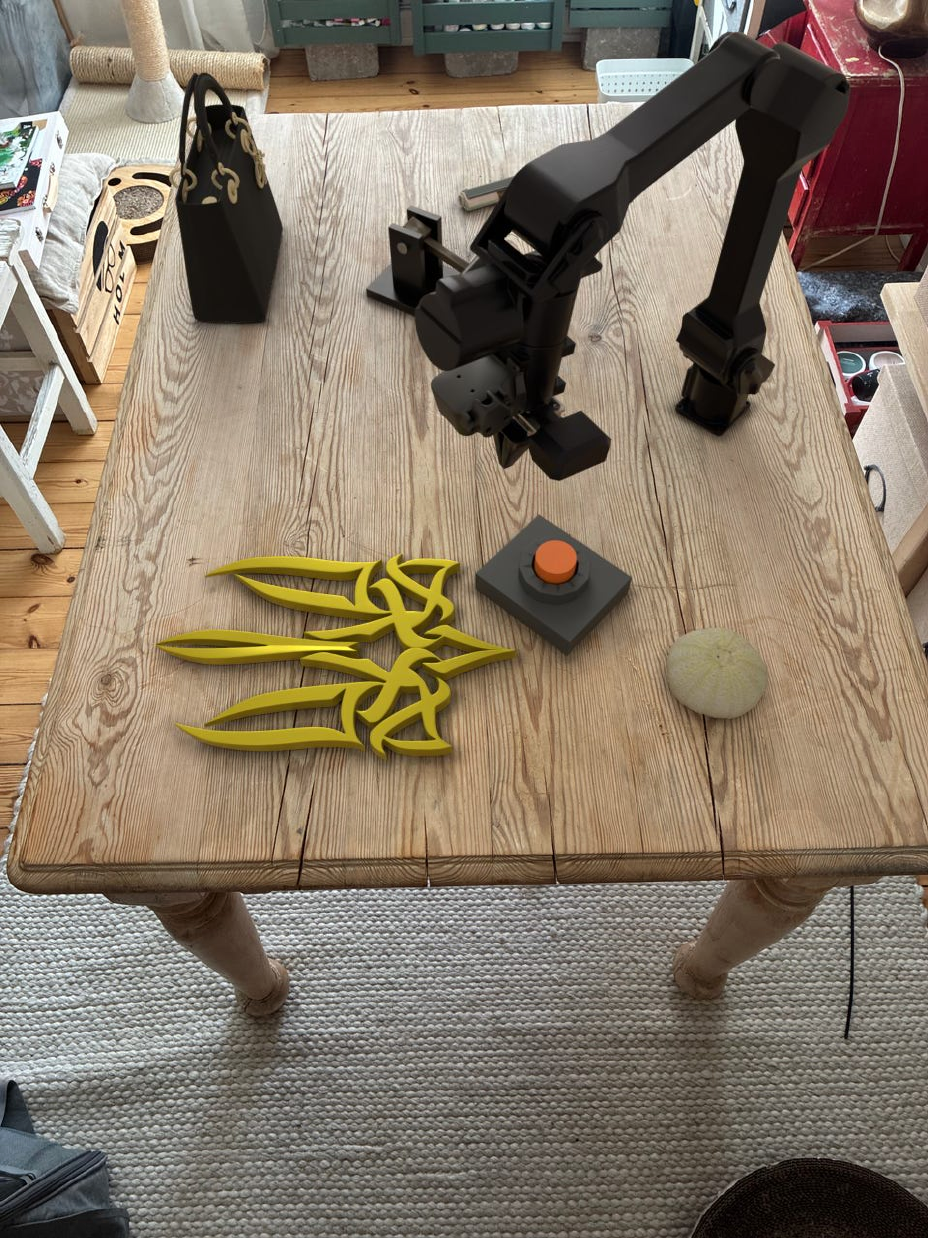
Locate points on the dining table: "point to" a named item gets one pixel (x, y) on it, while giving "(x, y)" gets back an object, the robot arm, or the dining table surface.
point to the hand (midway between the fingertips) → (505, 465)
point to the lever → (442, 248)
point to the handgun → (483, 194)
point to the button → (555, 562)
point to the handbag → (225, 211)
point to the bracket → (410, 265)
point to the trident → (344, 655)
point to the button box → (552, 587)
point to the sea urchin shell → (716, 672)
